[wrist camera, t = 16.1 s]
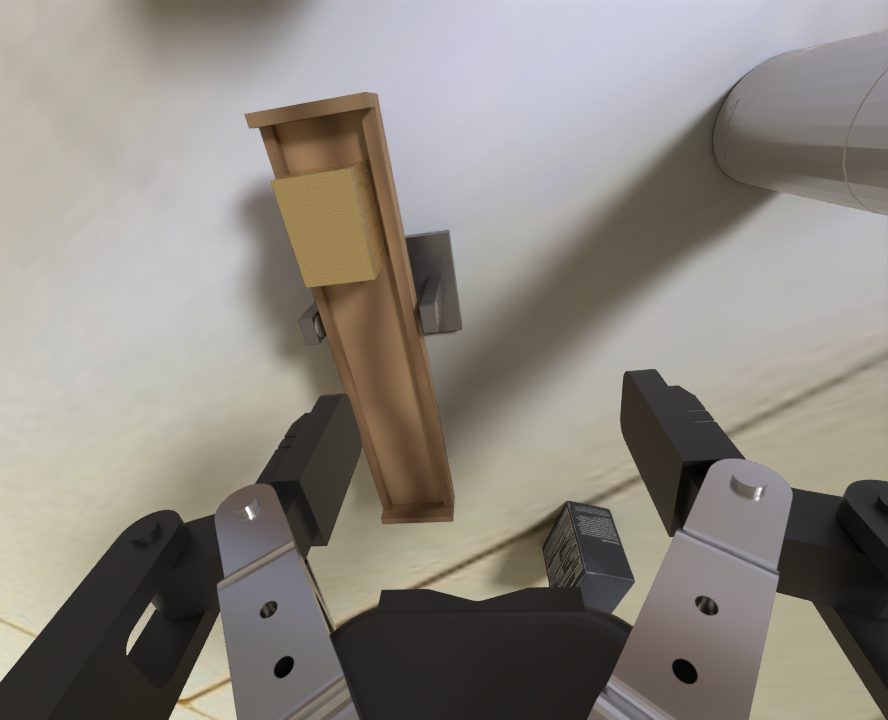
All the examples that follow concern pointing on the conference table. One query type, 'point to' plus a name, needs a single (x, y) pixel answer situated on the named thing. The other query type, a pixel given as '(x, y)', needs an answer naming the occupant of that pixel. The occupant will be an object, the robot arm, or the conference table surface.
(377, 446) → the beam
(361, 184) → the wooden block
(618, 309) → the conference table surface
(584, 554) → the small box
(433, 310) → the pivot stand
